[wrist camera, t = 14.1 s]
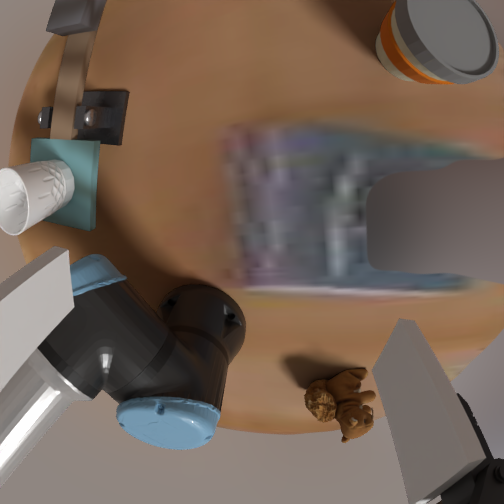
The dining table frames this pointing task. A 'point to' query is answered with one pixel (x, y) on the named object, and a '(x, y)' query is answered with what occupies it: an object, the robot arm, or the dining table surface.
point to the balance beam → (73, 111)
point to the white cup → (33, 193)
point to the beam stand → (96, 116)
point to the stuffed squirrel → (342, 402)
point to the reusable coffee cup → (437, 41)
